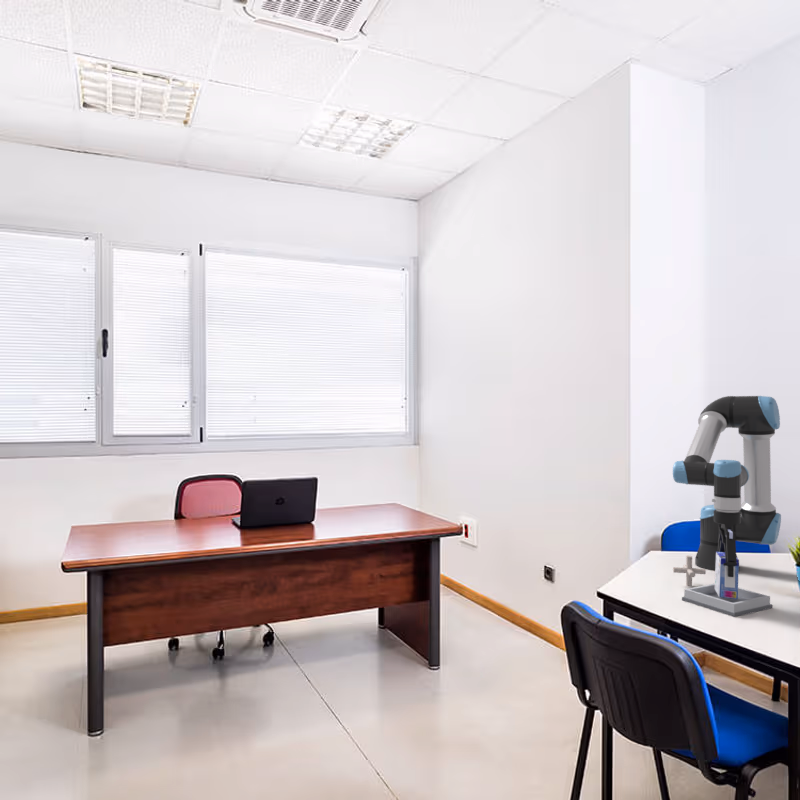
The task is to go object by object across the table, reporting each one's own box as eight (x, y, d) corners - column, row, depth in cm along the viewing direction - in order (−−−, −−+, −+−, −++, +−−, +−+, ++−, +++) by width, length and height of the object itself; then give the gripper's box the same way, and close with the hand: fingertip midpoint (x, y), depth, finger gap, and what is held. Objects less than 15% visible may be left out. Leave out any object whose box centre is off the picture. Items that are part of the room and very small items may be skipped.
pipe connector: (708, 590, 219) (708, 560, 219) (676, 588, 221) (676, 558, 221) (701, 582, 229) (701, 553, 229) (670, 580, 231) (670, 552, 231)
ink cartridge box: (739, 600, 199) (739, 551, 199) (719, 598, 201) (719, 550, 201) (733, 590, 209) (733, 544, 209) (714, 589, 210) (714, 543, 210)
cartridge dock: (719, 592, 217) (719, 581, 217) (772, 608, 201) (772, 596, 201) (681, 600, 208) (682, 589, 208) (734, 616, 193) (734, 604, 192)
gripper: (708, 504, 216) (707, 572, 217) (720, 515, 195) (719, 591, 195) (733, 505, 214) (733, 574, 214) (748, 517, 193) (747, 593, 193)
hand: (726, 582), depth 205 cm, fingers closed on ink cartridge box, 10 cm apart
